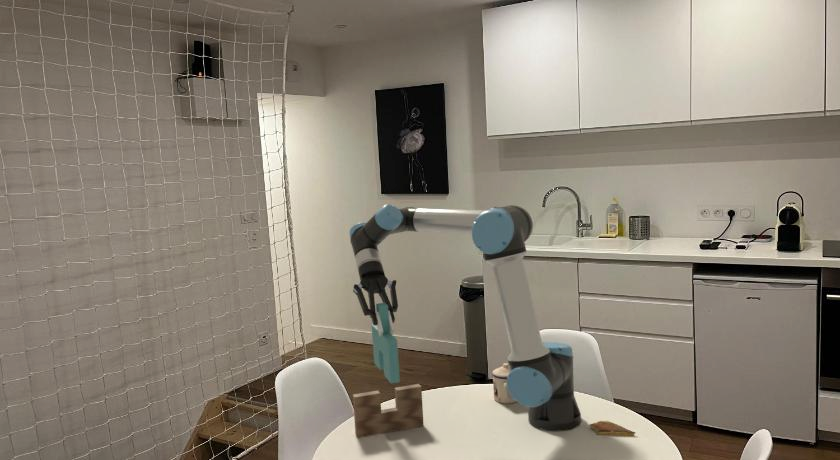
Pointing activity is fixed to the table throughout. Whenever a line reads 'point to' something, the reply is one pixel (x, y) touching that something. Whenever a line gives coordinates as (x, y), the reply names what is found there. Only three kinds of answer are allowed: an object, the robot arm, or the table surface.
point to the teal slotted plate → (385, 347)
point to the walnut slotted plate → (388, 411)
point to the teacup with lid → (502, 384)
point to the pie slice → (610, 429)
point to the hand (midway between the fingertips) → (387, 332)
